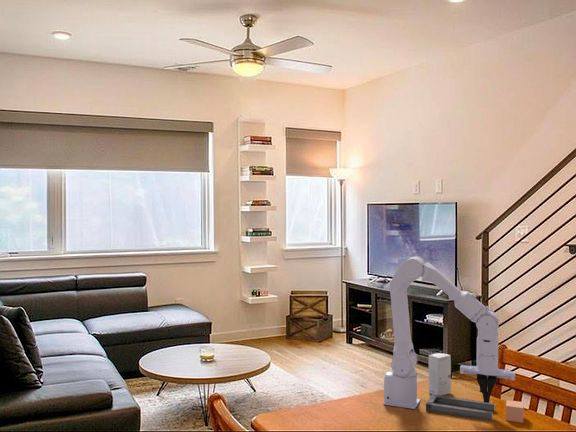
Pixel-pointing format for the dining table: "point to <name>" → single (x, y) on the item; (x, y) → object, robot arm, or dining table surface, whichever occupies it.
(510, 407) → the block
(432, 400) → the grey tray
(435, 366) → the skincare box
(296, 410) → the dining table surface
